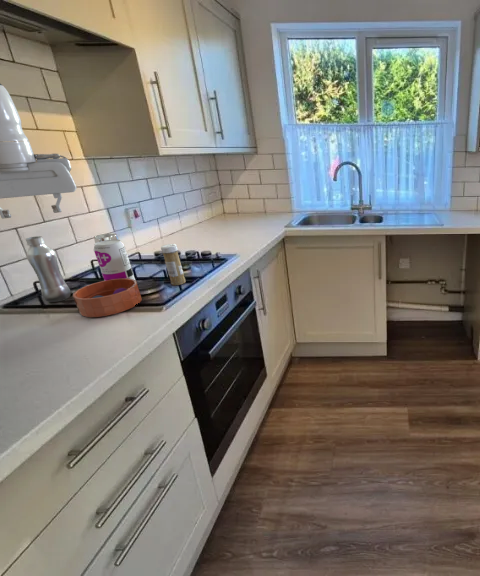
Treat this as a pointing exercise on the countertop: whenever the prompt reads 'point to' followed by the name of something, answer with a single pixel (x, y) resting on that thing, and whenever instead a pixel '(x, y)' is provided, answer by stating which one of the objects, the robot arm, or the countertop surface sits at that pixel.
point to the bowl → (107, 297)
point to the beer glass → (105, 237)
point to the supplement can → (113, 260)
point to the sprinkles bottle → (173, 264)
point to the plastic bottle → (47, 270)
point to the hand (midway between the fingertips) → (33, 215)
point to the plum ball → (119, 290)
